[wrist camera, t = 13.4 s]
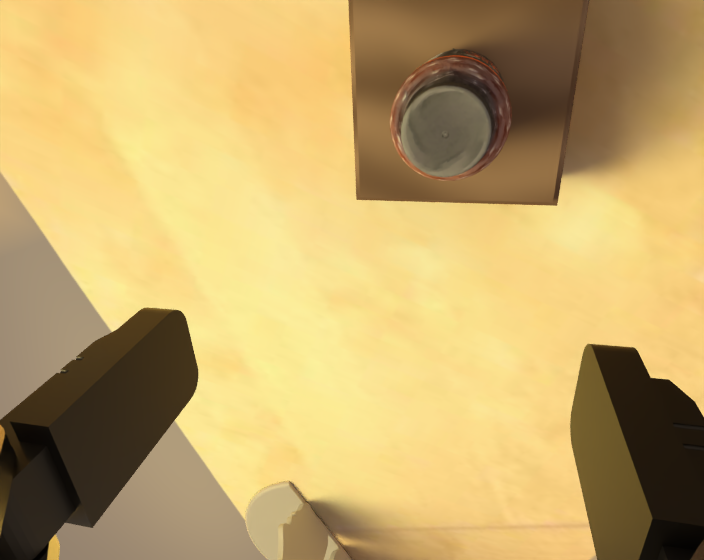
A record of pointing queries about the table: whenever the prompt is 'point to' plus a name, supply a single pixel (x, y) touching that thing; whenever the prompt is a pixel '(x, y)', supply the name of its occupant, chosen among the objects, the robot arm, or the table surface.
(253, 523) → the ornament
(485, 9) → the walnut block
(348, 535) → the table surface
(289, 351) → the table surface
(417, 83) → the supplement bottle
